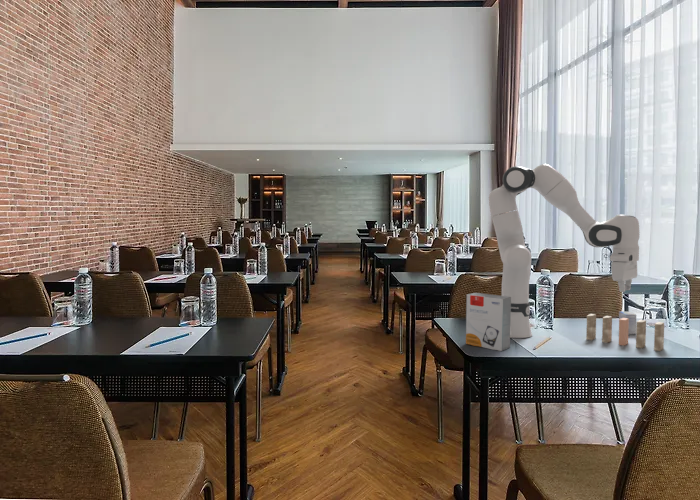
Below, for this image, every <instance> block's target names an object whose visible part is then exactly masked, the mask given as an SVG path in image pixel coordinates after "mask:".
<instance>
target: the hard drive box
mask: <svg viewBox="0 0 700 500" xmlns="http://www.w3.org/2000/svg"><path fill="white" fill-rule="evenodd" d="M465 295H466V300H465V301H466V303H465V305H466V307H465V310H466V311H465V344H466V345H469V346H470V345H471V346H474V347H480V348H484V349H489V350H493V351H498V352H502V351H505V350H508V349H510V348H511V338H510V321H511V297H507V296H502V295H498V294H497V295H496V294H489V293H482V292H481V293H480V292H473V293H468V294H465Z"/></svg>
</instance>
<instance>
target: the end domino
mask: <svg viewBox="0 0 700 500" xmlns="http://www.w3.org/2000/svg"><path fill="white" fill-rule="evenodd" d="M653 338H654V340H653V341H654V342H653V345H654V346H653V351H656V352H661V351H663V350H664V345H665V322H662V321H661V322H660V321H656V322H655V323H654V337H653Z"/></svg>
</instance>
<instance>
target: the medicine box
mask: <svg viewBox="0 0 700 500" xmlns="http://www.w3.org/2000/svg"><path fill="white" fill-rule="evenodd" d="M618 314H619V315H618V320H619V319H622V318H629V331H628V335H636V326H637V314H635V313H633V312H631V311H627V310H626V311H618Z"/></svg>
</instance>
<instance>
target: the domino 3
mask: <svg viewBox="0 0 700 500" xmlns="http://www.w3.org/2000/svg"><path fill="white" fill-rule="evenodd" d="M628 331H629V318H622V319H619V318H618V345H620V346H626V345H628V344H629V334H628Z"/></svg>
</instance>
